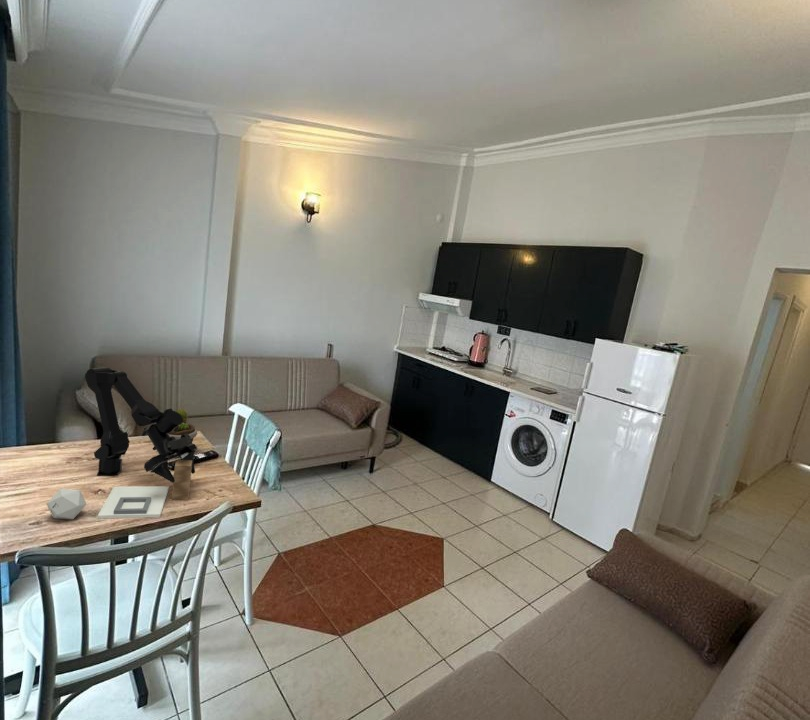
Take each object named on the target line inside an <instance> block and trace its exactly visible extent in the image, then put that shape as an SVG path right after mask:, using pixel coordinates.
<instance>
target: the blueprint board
mask: <svg viewBox="0 0 810 720" xmlns="http://www.w3.org/2000/svg"><path fill="white" fill-rule="evenodd" d="M169 489H170V486H167V485H166V486H164V485H163V486H157V485H155V486H150V485H149V486H146V485H145V486H137V485H135V486H113V488H112V490H111V491H110V492H109V495H108V496H107V498H106V500H105V502H104V503H103V506H102V507H101V509H100V510H99V512H98V514H97V517H96V518H97V520H99V519H102V520H103V519H104V520H105V519H137V518H138V519H140V518H141V519H144V518H146V519H147V518H161V515H162V512H163V508H164V506H165V502H166V500H167V496H168V493H169Z"/></svg>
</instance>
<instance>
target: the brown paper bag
mask: <svg viewBox="0 0 810 720" xmlns="http://www.w3.org/2000/svg"><path fill="white" fill-rule="evenodd" d="M191 470H192V460H181V459H176V461H175V465H174V472H173V477H174V480H175V482H173V483H172V492H171V493H172V494H171V501H188V500H189V496H190V490H191V489H190V488H191V477H192V473H191Z"/></svg>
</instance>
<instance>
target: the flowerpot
mask: <svg viewBox="0 0 810 720" xmlns="http://www.w3.org/2000/svg"><path fill="white" fill-rule="evenodd" d="M176 412H177V413H179V414H180V415H181V416H182V418H183V422H182V423H181V424H180V425H179V426H178V427H177V428H175V429H174V430H173V431H172V432H170V433H168V434H169V435H170V437H175V439H179V438H181V435H183V434H187V433H188V434H189V436H190V437H191V442H189V444H191V443H193V442H194V439H195V438H196V437H197V435H198V430H197V428H195V426H194V425H193V424H191V423H188V421H189V420H187V419H189V417H188V414H189V413H188V412H187V410H186V409H185V408H183V407H182V406H180V407H177V410H176ZM181 449H182V448H181ZM179 450H180V449H179ZM179 450H178V451H179ZM174 456H175V455H174Z"/></svg>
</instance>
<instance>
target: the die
mask: <svg viewBox="0 0 810 720" xmlns="http://www.w3.org/2000/svg"><path fill="white" fill-rule="evenodd" d="M86 505H87V502H86V499H85V497H84V496H83V493H82V491H81V489H74V488H73V489H70V488H69V489H68V488H60V489H59V490H58V491H57V492H56V493H55V494H54V495H53V496H52V497H51V498H50V499H49V501H47V503H46V506H47V508H48V510H49V512H50V514H51V516H52V517H53V519H61V520H74V519H75V518H76V517H77V516H78V515H79V513H80V512H81V511H82V510H83V509H84V508H85V507H86Z"/></svg>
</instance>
